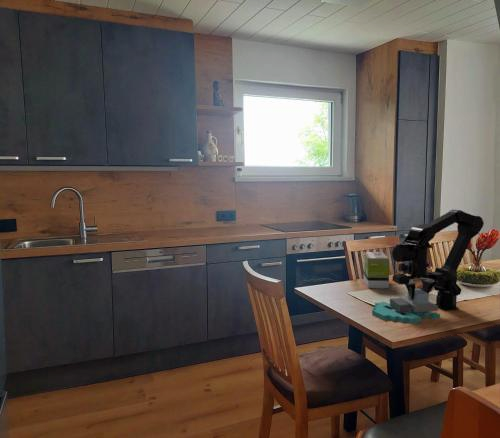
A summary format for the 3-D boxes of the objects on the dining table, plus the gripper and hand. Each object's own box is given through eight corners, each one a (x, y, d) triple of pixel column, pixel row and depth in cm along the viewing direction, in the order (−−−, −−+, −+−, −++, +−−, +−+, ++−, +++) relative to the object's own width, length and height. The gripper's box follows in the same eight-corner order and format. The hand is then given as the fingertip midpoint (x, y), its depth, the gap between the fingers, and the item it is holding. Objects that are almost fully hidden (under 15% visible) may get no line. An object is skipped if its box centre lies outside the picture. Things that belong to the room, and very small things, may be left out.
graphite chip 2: (403, 308, 151) (404, 301, 151) (409, 312, 147) (409, 304, 147) (394, 309, 151) (394, 301, 150) (399, 313, 147) (399, 305, 147)
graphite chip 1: (399, 305, 155) (399, 298, 155) (404, 308, 151) (405, 301, 151) (389, 306, 155) (390, 298, 154) (395, 309, 151) (395, 301, 151)
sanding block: (419, 300, 159) (420, 286, 158) (437, 310, 147) (438, 295, 146) (398, 302, 158) (399, 287, 157) (415, 312, 146) (415, 296, 145)
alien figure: (401, 304, 164) (361, 310, 157) (401, 299, 164) (361, 305, 157) (439, 320, 145) (396, 327, 138) (440, 314, 145) (396, 321, 138)
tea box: (362, 279, 201) (363, 251, 199) (383, 280, 199) (383, 251, 198) (367, 288, 186) (367, 257, 184) (389, 288, 184) (390, 257, 183)
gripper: (429, 254, 160) (427, 292, 161) (385, 256, 157) (385, 294, 159) (446, 260, 149) (445, 300, 150) (400, 262, 146) (399, 303, 148)
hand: (417, 299), depth 152 cm, fingers closed on sanding block, 4 cm apart
